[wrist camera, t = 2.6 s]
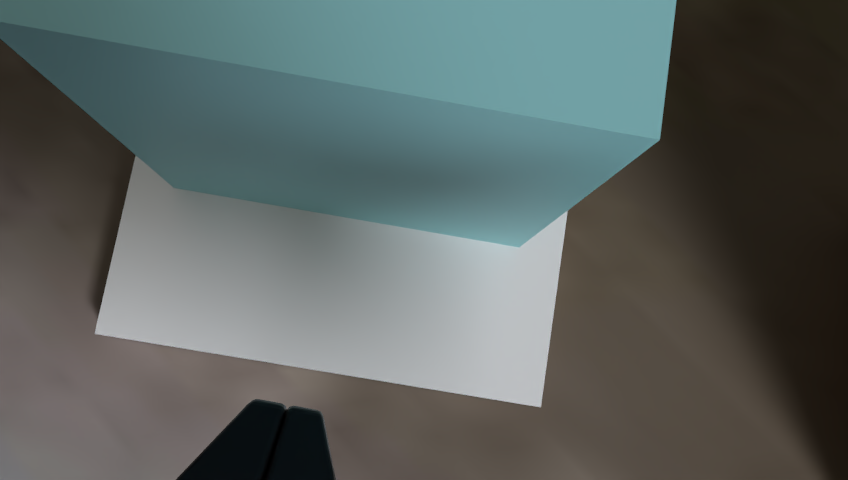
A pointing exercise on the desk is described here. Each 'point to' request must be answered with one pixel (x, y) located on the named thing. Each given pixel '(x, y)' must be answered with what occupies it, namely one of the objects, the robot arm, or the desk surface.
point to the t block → (368, 99)
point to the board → (332, 292)
